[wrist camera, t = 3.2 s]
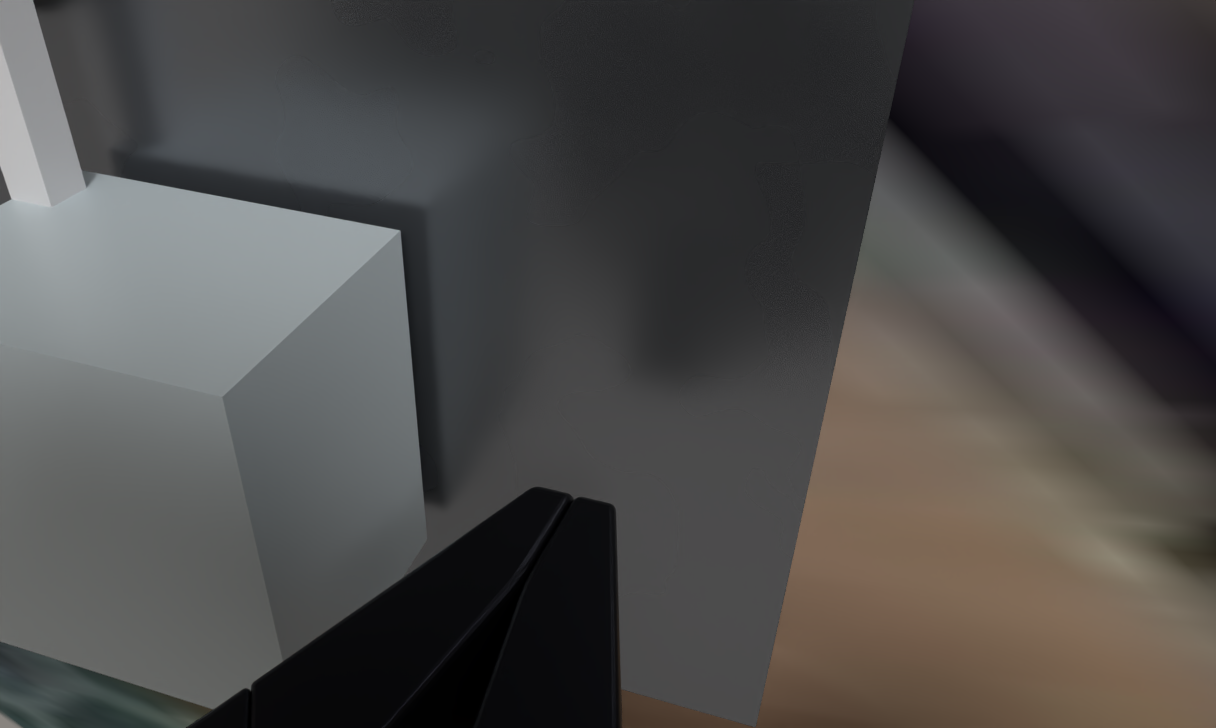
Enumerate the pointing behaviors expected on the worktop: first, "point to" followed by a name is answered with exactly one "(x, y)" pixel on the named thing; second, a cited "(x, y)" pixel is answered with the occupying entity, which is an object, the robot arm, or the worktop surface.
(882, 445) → the worktop surface
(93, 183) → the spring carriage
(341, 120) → the gauge base
